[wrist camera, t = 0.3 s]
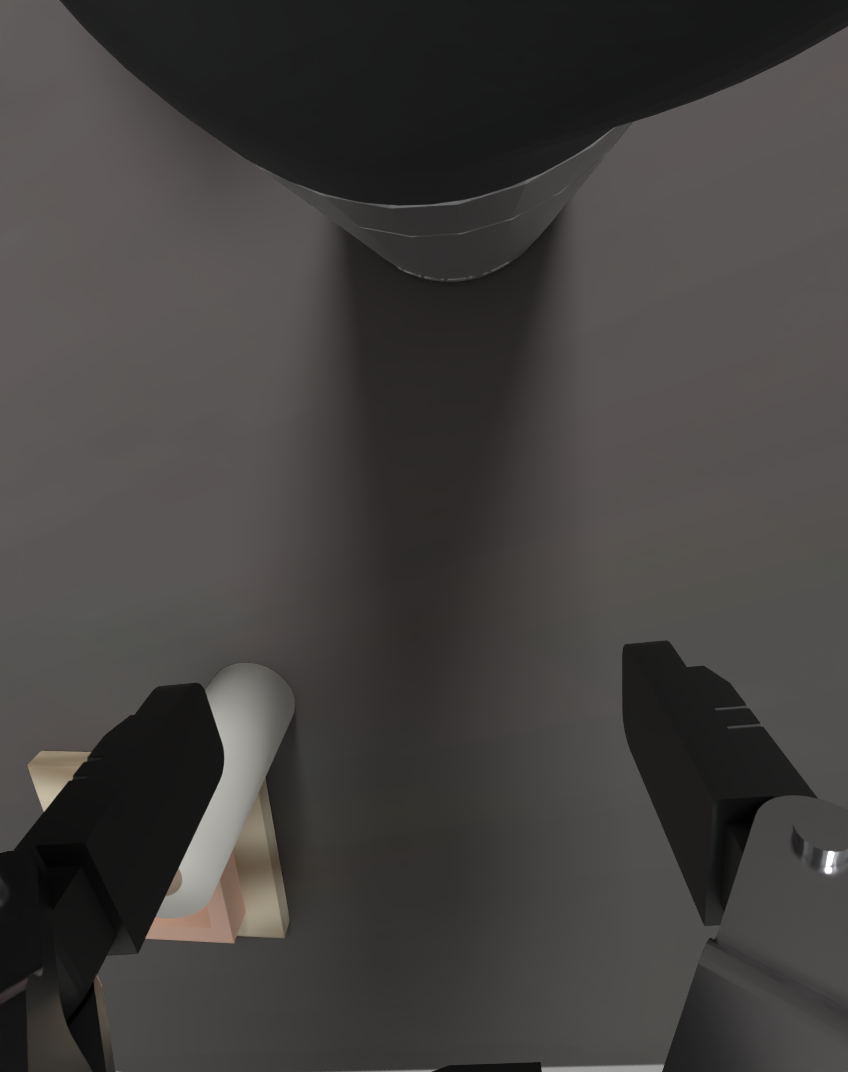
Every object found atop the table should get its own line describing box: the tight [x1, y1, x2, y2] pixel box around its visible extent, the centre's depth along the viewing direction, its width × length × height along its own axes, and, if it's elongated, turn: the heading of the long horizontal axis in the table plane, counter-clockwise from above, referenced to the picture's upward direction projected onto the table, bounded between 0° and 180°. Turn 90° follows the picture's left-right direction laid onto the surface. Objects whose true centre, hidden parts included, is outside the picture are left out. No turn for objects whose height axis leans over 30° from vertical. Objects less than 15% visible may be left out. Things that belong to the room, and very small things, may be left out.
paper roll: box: [156, 663, 295, 919], centre depth 28 cm, size 5×5×11 cm
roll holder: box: [27, 751, 290, 943], centre depth 36 cm, size 14×14×3 cm
